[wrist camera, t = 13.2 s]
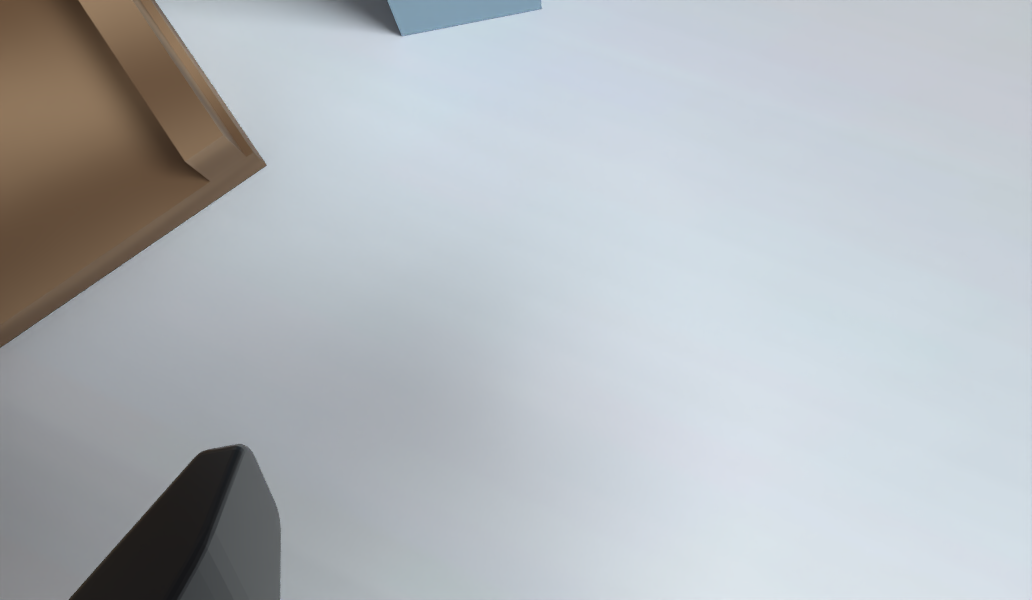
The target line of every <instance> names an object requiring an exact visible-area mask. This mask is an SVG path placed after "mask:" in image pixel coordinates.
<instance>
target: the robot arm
mask: <svg viewBox="0 0 1032 600" xmlns="http://www.w3.org/2000/svg"><path fill="white" fill-rule="evenodd" d="M280 557H281V527H280V518H279V513H278V509H277V506H276V503H275V501H274V499H273V497H272V494H271V492H270V490H269V488H268V485H267V483H266V481H265V478H264V476H263V474H262V472H261V469H260V467H259V465H258V463H257V460H256V458H255V456H254V454H253V452H252V451H251V450H250V449H249V448H248V447H247V446H245V445H242V444H236V445H230V446H224V447H219V448H213V449H208V450H205V451H202V452H201V453H199V454H198V455H197V456H196V457H195V458H194V459H193V460H192V461H191V462H190V463H189V464H188V466H187V467H186V468H185V469H184V470H183V471H182V472H181V473H180V475H179V476H178V477H177V478H176V479H175V480H174V481H173V482H172V484H171V485H170V486H169V487H168V488H167V489H166V490H165V492H164V493H163V494H162V495H161V496H160V497H159V498H158V499H157V501H156V502H155V503H154V504H153V505H152V506H151V507H150V508H149V510H148V511H147V512H146V513H145V514H144V515H143V516H142V517H141V519H140V520H139V521H138V522H137V523H136V524H135V525H134V526H133V528H132V529H131V530H130V531H129V532H128V533H127V534H126V535H125V537H124V538H123V539H122V540H121V541H120V542H119V543H118V544H117V546H116V547H115V548H114V549H113V550H112V551H111V552H110V553H109V555H108V556H107V557H106V558H105V559H104V560H103V561H102V562H101V564H100V565H99V566H98V567H97V568H96V569H95V570H94V572H93V573H92V574H91V575H90V576H89V577H88V578H87V579H86V581H85V582H84V583H83V584H82V585H81V586H80V587H79V588H78V590H77V591H76V592H75V593H74V594H73V595H72V596H71V597H70V599H69V600H280Z"/></svg>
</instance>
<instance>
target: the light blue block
mask: <svg viewBox="0 0 1032 600" xmlns="http://www.w3.org/2000/svg"><path fill="white" fill-rule="evenodd" d="M387 1H388V3H389V6H390V8H391V11H392V13H393V16H394V18H395V21H396V23H397V26H398V28H399V30H400V33H401V35H402V36H405V35H411V34H416V33H421V32H426V31H431V30H436V29H441V28H446V27H451V26H456V25H462V24H467V23H472V22H477V21H482V20H487V19H492V18H497V17H502V16H507V15H512V14H518V13H523V12H528V11H533V10H538V9H542V7H541V0H387Z"/></svg>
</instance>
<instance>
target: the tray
mask: <svg viewBox="0 0 1032 600" xmlns="http://www.w3.org/2000/svg"><path fill="white" fill-rule="evenodd" d="M265 166H267V165H266V163H265V162H264V160H263V159H262V157H261V156H260V155H259V153H258V152H257V150H256V149H255V147H254V146H253V144H252V143H251V141H250V140H249V138H248V137H247V135H246V134H245V132H244V131H243V130H242V128H241V127H240V125H239V124H238V122H237V121H236V119H235V118H234V116H233V115H232V113H231V112H230V110H229V109H228V107H227V106H226V104H225V103H224V102H223V100H222V99H221V97H220V96H219V94H218V93H217V91H216V90H215V88H214V87H213V85H212V84H211V82H210V81H209V79H208V78H207V77H206V75H205V74H204V72H203V71H202V69H201V68H200V66H199V65H198V63H197V62H196V60H195V59H194V57H193V56H192V54H191V53H190V51H189V50H188V49H187V47H186V46H185V44H184V43H183V41H182V40H181V38H180V37H179V35H178V34H177V32H176V31H175V29H174V28H173V26H172V25H171V24H170V22H169V21H168V19H167V18H166V16H165V15H164V13H163V12H162V10H161V9H160V7H159V6H158V4H157V3H156V1H155V0H0V347H2V346H3V345H5V344H6V343H8V342H9V341H11V340H12V339H14V338H15V337H17V336H18V335H19V334H21V333H22V332H24V331H25V330H27V329H28V328H30V327H31V326H33V325H34V324H36V323H37V322H38V321H40V320H41V319H43V318H44V317H46V316H47V315H49V314H50V313H52V312H53V311H55V310H56V309H57V308H59V307H60V306H62V305H63V304H65V303H66V302H68V301H69V300H71V299H72V298H74V297H75V296H76V295H78V294H79V293H81V292H82V291H84V290H85V289H87V288H88V287H90V286H91V285H93V284H94V283H96V282H97V281H98V280H100V279H101V278H103V277H104V276H106V275H107V274H109V273H110V272H112V271H113V270H115V269H116V268H117V267H119V266H120V265H122V264H123V263H125V262H126V261H128V260H129V259H131V258H132V257H134V256H135V255H136V254H138V253H139V252H141V251H142V250H144V249H145V248H147V247H148V246H150V245H151V244H153V243H154V242H155V241H157V240H158V239H160V238H161V237H163V236H164V235H166V234H167V233H169V232H170V231H172V230H173V229H174V228H176V227H177V226H179V225H180V224H182V223H183V222H185V221H186V220H188V219H189V218H191V217H192V216H193V215H195V214H196V213H198V212H199V211H201V210H202V209H204V208H205V207H207V206H208V205H210V204H211V203H212V202H214V201H215V200H217V199H218V198H220V197H221V196H223V195H224V194H226V193H227V192H229V191H230V190H231V189H233V188H234V187H236V186H237V185H239V184H240V183H242V182H243V181H245V180H246V179H248V178H249V177H251V176H252V175H253V174H255V173H256V172H258V171H259V170H261V169H262V168H264V167H265Z"/></svg>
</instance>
